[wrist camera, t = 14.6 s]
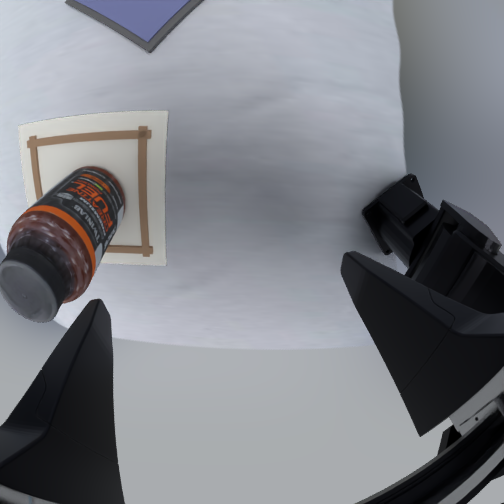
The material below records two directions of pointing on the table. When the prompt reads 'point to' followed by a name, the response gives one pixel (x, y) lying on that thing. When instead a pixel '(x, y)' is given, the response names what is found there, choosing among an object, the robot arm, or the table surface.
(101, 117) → the marked sheet
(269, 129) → the table surface
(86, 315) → the robot arm
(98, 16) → the ink pad
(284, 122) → the table surface
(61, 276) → the supplement bottle
